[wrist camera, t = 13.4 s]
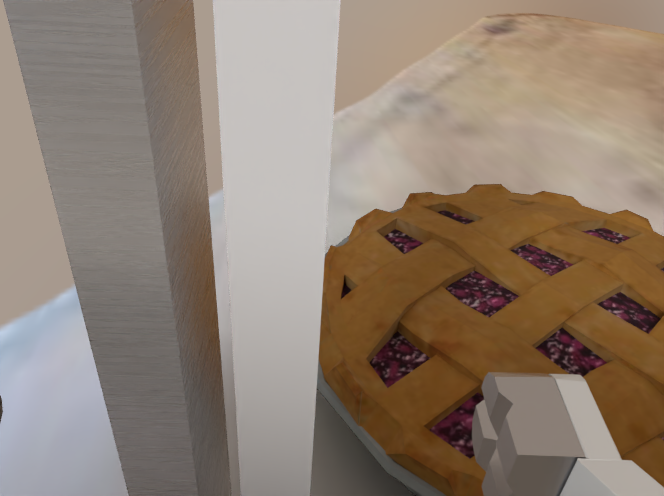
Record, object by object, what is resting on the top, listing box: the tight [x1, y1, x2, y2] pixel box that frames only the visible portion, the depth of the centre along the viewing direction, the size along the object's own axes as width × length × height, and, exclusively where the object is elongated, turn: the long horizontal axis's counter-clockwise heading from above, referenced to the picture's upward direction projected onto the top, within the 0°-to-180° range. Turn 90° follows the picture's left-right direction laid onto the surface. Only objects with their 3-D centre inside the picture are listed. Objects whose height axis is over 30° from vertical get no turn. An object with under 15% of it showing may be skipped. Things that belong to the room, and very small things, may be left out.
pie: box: [317, 184, 664, 496], centre depth 27 cm, size 22×22×5 cm
